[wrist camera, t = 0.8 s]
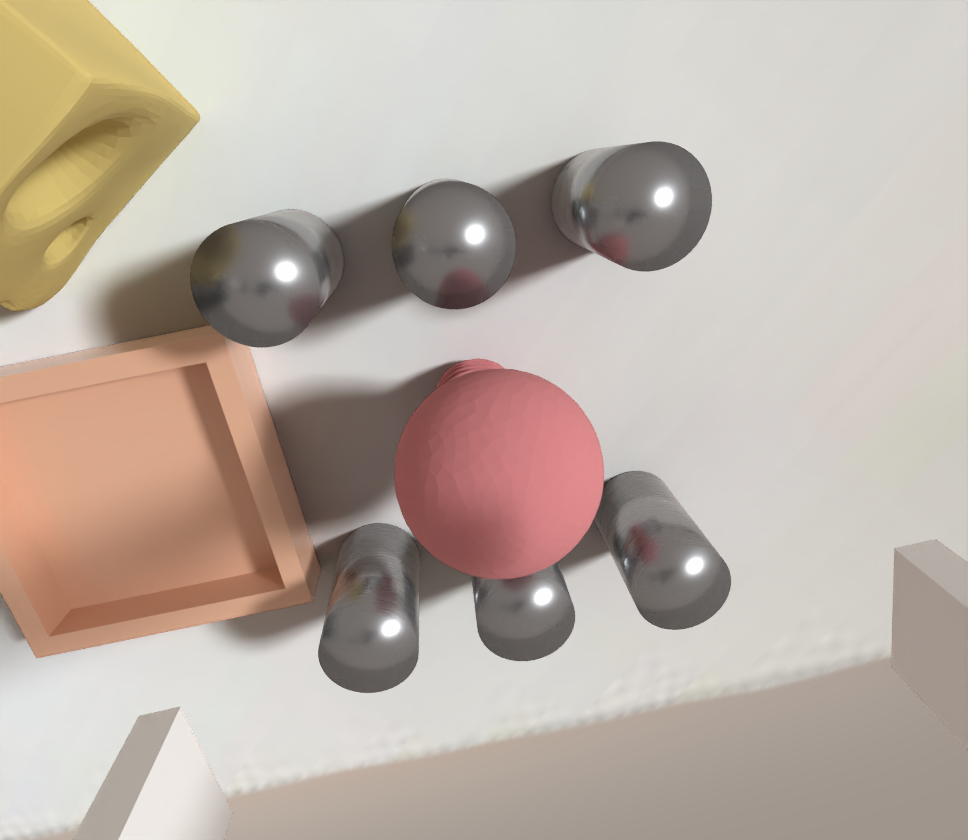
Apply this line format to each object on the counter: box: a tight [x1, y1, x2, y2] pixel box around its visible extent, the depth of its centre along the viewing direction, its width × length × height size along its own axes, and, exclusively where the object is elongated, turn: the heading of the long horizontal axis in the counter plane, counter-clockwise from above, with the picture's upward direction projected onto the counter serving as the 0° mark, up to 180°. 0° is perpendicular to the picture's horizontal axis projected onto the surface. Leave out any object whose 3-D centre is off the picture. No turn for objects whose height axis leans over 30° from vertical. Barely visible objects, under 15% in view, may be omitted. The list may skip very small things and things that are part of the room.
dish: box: [0, 325, 321, 658], centre depth 29 cm, size 13×13×3 cm
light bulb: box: [394, 359, 604, 579], centre depth 25 cm, size 7×7×12 cm
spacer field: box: [190, 142, 731, 693], centre depth 27 cm, size 17×19×7 cm
